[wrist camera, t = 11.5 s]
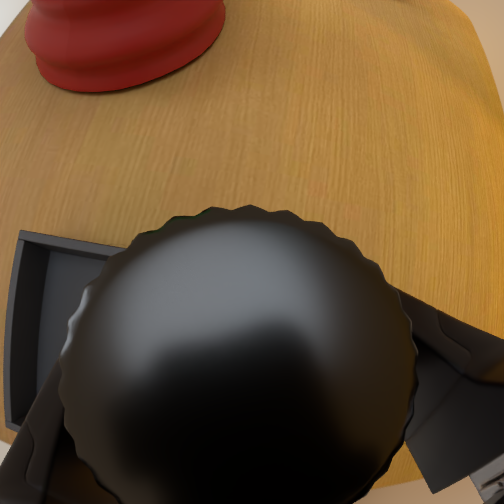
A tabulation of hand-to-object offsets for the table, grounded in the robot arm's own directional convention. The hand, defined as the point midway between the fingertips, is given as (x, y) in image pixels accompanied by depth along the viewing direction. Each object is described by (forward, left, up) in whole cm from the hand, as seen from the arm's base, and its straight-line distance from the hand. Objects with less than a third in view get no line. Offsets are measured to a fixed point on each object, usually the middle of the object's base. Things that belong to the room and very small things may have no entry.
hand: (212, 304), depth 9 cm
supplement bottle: (-1, -1, -7) cm, 7 cm away
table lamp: (+18, +21, -13) cm, 31 cm away
